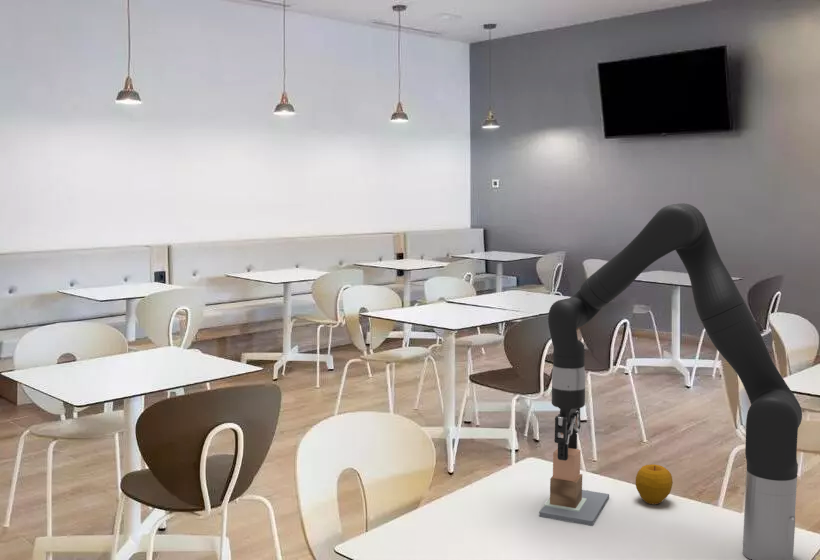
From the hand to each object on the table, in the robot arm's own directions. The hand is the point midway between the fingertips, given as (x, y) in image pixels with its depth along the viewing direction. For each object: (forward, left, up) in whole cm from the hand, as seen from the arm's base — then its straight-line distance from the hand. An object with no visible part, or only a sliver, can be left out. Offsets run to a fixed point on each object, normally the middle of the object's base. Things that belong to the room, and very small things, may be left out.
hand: (567, 454), depth 186 cm
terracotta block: (0, 0, -5) cm, 5 cm away
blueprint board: (-2, -1, -13) cm, 13 cm away
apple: (-18, -12, -13) cm, 25 cm away
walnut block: (0, 0, -11) cm, 11 cm away
